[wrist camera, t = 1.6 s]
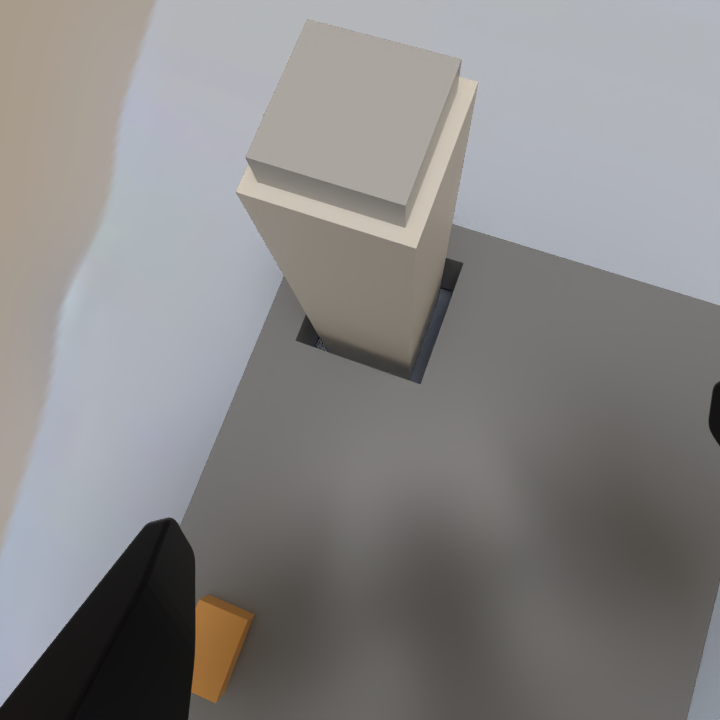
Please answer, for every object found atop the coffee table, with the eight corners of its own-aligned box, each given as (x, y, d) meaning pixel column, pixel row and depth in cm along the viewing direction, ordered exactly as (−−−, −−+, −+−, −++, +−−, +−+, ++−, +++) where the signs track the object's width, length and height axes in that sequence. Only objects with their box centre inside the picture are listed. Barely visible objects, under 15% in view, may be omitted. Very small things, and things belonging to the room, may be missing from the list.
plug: (409, 379, 22) (417, 228, 9) (327, 351, 22) (221, 167, 9) (437, 300, 22) (484, 48, 9) (357, 273, 23) (297, 1, 10)
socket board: (596, 865, 18) (646, 963, 14) (152, 662, 20) (97, 702, 17) (729, 346, 21) (798, 317, 17) (332, 221, 23) (318, 172, 20)
